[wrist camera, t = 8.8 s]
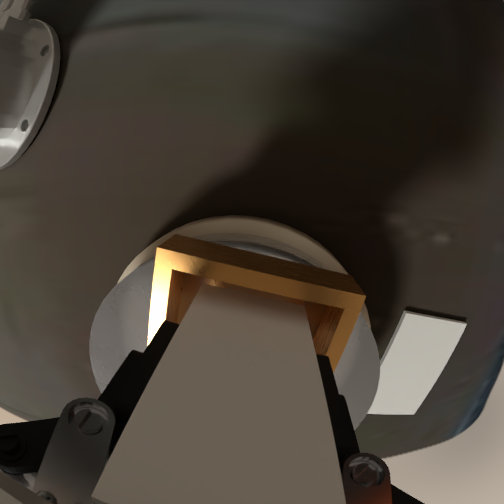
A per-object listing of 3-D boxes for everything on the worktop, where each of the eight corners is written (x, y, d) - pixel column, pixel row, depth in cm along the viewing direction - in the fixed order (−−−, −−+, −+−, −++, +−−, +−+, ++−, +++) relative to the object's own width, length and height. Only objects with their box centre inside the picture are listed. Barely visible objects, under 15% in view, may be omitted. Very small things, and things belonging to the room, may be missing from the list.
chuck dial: (312, 451, 18) (318, 504, 13) (117, 408, 18) (91, 454, 13) (403, 271, 14) (451, 313, 9) (121, 204, 14) (61, 222, 9)
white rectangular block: (202, 282, 11) (91, 496, 3) (304, 305, 11) (351, 537, 3) (189, 363, 12) (122, 547, 4) (277, 382, 12) (278, 575, 4)
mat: (403, 310, 17) (406, 313, 17) (464, 321, 17) (466, 324, 17) (353, 409, 20) (354, 412, 19) (412, 411, 20) (413, 414, 19)
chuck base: (132, 189, 16) (116, 192, 14) (397, 252, 16) (411, 262, 14) (122, 391, 20) (113, 407, 19) (313, 434, 21) (316, 452, 19)
